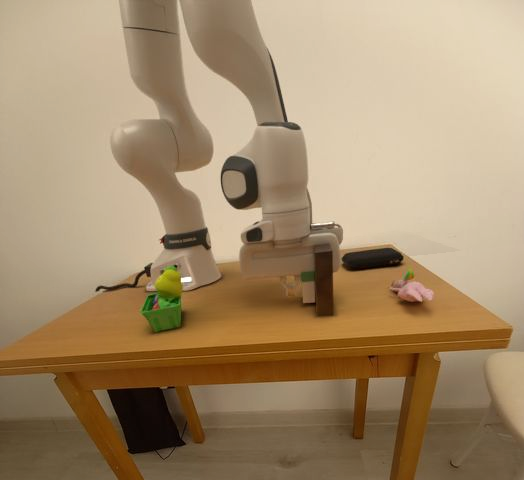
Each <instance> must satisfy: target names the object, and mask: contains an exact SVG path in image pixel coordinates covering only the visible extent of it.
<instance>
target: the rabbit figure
mask: <svg viewBox="0 0 524 480" xmlns="http://www.w3.org/2000/svg"><path fill="white" fill-rule="evenodd" d="M403 277H404V278H403V279H398V280H394V279H392V283H391V286H390V287H389V291H394V293H397V295H396V296H397V297H398V298H399V299H401V300H405V301H406V302H410V303H413V302H420V303H422V302H423V298H424V299H426V300H427V301H428V302H432V301H433V299H434V296H435V292H434V291H433V290H432V289H430V288H426V287H425V285H424V284H422V283H421V282H419V281H413V279H414V277H415V274H414V272H413V270H412V269H410V268H408V269H407V272H406V274H405V275H404V276H403Z"/></svg>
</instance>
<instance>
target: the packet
mask: <svg viewBox="0 0 524 480" xmlns="http://www.w3.org/2000/svg"><path fill="white" fill-rule="evenodd" d="M314 281H315V277H314V271H307V272H301V291H302V303H303V304H311V303H316V300H315V283H314Z"/></svg>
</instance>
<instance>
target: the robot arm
mask: <svg viewBox="0 0 524 480" xmlns="http://www.w3.org/2000/svg"><path fill="white" fill-rule="evenodd" d="M178 2H179V5H180V9H181V13H182V14H181V15H182V18H183V19H182V20H183V22H184V26H185V30H186V33H187V37H188V39H189V42H190V44H191V46H192V49H193V52H194V53H195V54H196V56H197V57H198V59H199V60H200V61H201V62H202V63H203V65H205V66H206V67H207V68H208V69H209V70H210V71H211V72H213V73H214V74H216V75H217V76H219V77H221V78H223V79H224V80H225V81H227V82H229V83H230V84H231V85H233V86H234V87H236V88H237V90H239V91H240V92H241V93H242V94H243V96H245V98H246V100H248V102H249V104H250V106H251V108H252V111H253V114H254V119H255V122H256V127H255V128H254V133H253V135H252V137H251V138H250V140H249V141H248V142H247V143H246V144H245V145H244V146H243V147H242V148H241V149H240V150H238V151H237V152H236V153H234V154H233V155H230V156H228V157H227V158H226V159H225V161H224V163H223V165H222V167H221V170H220V187H221V192H222V194H223V197H224V199H225V200H226V202H227V203H228V205H230V206H231V207H232V208H233V209H235V210H241V211H248V210H253V209H259V208H260V209H261V217H262V218H261V219H260V220H259V221H258V220H257V221H255V222H254V223H252V224H250V225H248V226H247V227H245V228H243V229H242V231H241V233H240V241H241V243H242V245H241V246H240V249H239V252H238V253H239V254H238V261H239V264H238V265H239V272H240V276H241V277H242V278H243V279H244V280H259V279H270V278H271V279H272V278H278V280H279V281H278V282H279V283H280V284H281V286H282V288H283V289H284V290H285V297H297V296H298V288H299V286H300V284H301V283H302V281H301V272H307V271H314V274H315V269H314V245H320V244H330V246H331V248H332V251H333V273H338V272H339V271H340V269H341V268H342V260H341V259H342V254H341V247H340V246H341V245H342V243H343V240H344V229H343V227H342V226H341V224H339V223H336V222H335V221H327V222H316V223H315V222H314V223H313V222H312V224H310V207H309V201H308V198H307V189H308V184H309V161H308V160H309V159H308V149H307V144H306V137H305V134H304V131H303V129H302V127H301V126H300V125H299V124H297V123H296V122H292V121H289V120H288V116H287V112H286V111H287V110H286V106H285V103H284V98H283V94H282V90H281V85H280V82H279V77H278V73H277V69H276V65H275V63H274V59H273V57H272V55H271V53H270V51H269V48H268V47H267V45H266V42H265V41H264V38H263V35H262V32H261V30H260V27H259V24H258V21H257V17H256V14H255V10H254V7H253V3H252V0H179V1H178V0H118V4H119V5H118V6H119V12H120V13H119V14H120V19H121V26H122V33H123V39H124V44H125V51H126V57H127V63H128V69H129V75H130V78H131V80H132V82H133V84H134V85H135V86H136V88H137V89H138V90H139V91H140V92H141V93H142V94H144V95H145V96H146V97H148V98H149V99H151V100H152V101H153V102H154V104H155V106H156V109H157V112H158V116H159V119H158V118H153V119H152V118H150V119H149V118H139V119H138V118H136V119H130V120H126V121H123V122H119V123H116V124H115V125H113V127H112V130H111V133H110V137H109V140H110V141H109V144H110V150H111V153H112V156H113V158H114V160H115V161H116V163H117V165H118V166H119V167H120V168H121V170H123V171H124V172H125V173H127V174H128V175H130V176H131V177H133V178H134V179H136V180H137V181H138V182H139V183H141V184H142V186H144V188H145V190H147V191H148V192H149V194H150V195H151V197H152V198H153V201H154V202H155V204H156V207H157V209H158V212H159V215H160V217H161V218H160V219H161V221H162V224H163V227H164V230H165V234H164V235H163V236H162V237H160V238H159V239H158V241H160V242H159V244H160V245H161V244H162V245H163V248H164V249H163V250H162V251H161V253H160V254H158V256H157V257H156V259H155V260H154V261H153V262H150V263H149V264H147V265H146V266H144V267H143V270H141V271H140V272H138V273H137V274H136V276H135V278H134V282H133V283H128V282H124V283H120V284H116V285H111V286H107V285H98V286H97V287H96V288H95V290H94V292H95V293H97V292H100V290H106V291H112V290H117V289H121V288H124V287H125V288H126V287H127V288H135V287H136V286H137V285H138V284H139V280H140V278H141V277H142V276H143V275H146V277H147V278H150V279H151V280H150V281H149V282H148V283H147V284H146V285H145V290H146V292H157V290H156V289H155V282H156V281H157V280H158V278H159V277H160V276H161V275H162V274H163V273H164V270H165V269H166V268H167V267H169V266H173V267H175V268H177V271H178V272H179V273H180V274H181V282H182V287H183V289H182V292H183V291H184V292H185V291H192V290H195V289H197V288H199V287H202V286H206V285H209V284H211V283H214V282H217V281H218V280H219V279H221V278H222V276H223V275H222V273H221V271H220V269H219V267H218V265H217V261H216V260H215V257H214V253H213V249H212V241H211V236H210V232H209V228H208V227H207V226H206V222H205V217H204V213H203V208H202V207H203V206H202V202H201V199H200V198H199V196H198V195H197V193H195V192H194V191H192V190H191V189H188V188H186V187H184V186H183V185H182V184H181V182H180V181H179V179H178V177H177V173H184V172H194V171H196V170H199V169H202V168H203V167H206V166H208V165H209V164H210V163H211V162H212V160H213V157H214V150H215V146H214V139H213V137H212V134H211V132H210V130H209V129H208V127H207V126H206V125H205V123H203V122H202V121H201V119H200V118H199V117H198V115H197V113H196V111H195V109H194V107H193V105H192V102H191V100H190V97H189V94H188V89H187V85H186V78H185V71H184V61H183V51H182V39H181V28H180V19H179V8H178V7H179V5H178ZM310 230H311V232H310ZM287 277H294V281H295V282H294V285H289V284H288V282H287Z"/></svg>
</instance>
